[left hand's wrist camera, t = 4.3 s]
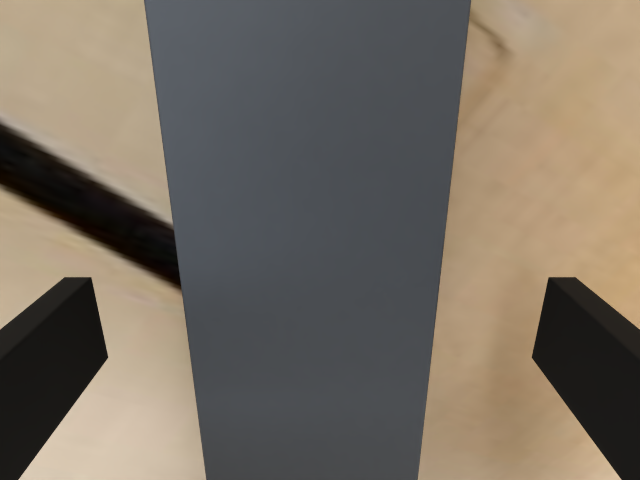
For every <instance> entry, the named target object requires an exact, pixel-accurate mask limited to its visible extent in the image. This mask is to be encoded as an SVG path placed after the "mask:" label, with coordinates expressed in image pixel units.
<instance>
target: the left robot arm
mask: <svg viewBox="0 0 640 480" xmlns="http://www.w3.org/2000/svg"><path fill="white" fill-rule="evenodd" d="M107 358H108V354H107V350H106V345H105V340H104V335H103V331H102V326H101V321H100V316H99V312H98V307H97V302H96V297H95V293H94V288H93V283H92V278H91V277H64V278H63V279H62V280H61V281H60V282H58V283H57V284H56V285H55V286H53V287H52V288H51V289H50V290H48V291H47V292H46V293H45V294H44V295H42V296H41V297H40V298H39V299H37V300H36V301H35V302H34V303H33V304H31V305H30V306H29V307H28V308H26V309H25V310H24V311H23V312H21V313H20V314H19V315H18V316H17V317H15V318H14V319H13V320H12V321H10V322H9V323H8V324H7V325H5V326H4V327H3V328H2V329H1V330H0V480H18V479H19V478H20V477H21V475H22V474H23V473H24V471H25V470H26V469H27V467H28V466H29V464H30V463H31V462H32V460H33V459H34V458H35V456H36V455H37V454H38V452H39V451H40V450H41V448H42V447H43V445H44V444H45V443H46V441H47V440H48V439H49V437H50V436H51V435H52V433H53V432H54V431H55V429H56V428H57V426H58V425H59V424H60V422H61V421H62V420H63V418H64V417H65V416H66V414H67V413H68V411H69V410H70V409H71V407H72V406H73V405H74V403H75V402H76V401H77V399H78V398H79V397H80V395H81V394H82V392H83V391H84V390H85V388H86V387H87V386H88V384H89V383H90V382H91V380H92V379H93V378H94V376H95V375H96V373H97V372H98V371H99V369H100V368H101V367H102V365H103V364H104V363H105V361H106V360H107ZM532 358H533V360H534V361H535V363H536V364H537V365H538V367H539V368H540V369H541V371H542V372H543V373H544V375H545V376H546V378H547V379H548V380H549V382H550V383H551V384H552V386H553V387H554V388H555V390H556V391H557V392H558V394H559V395H560V397H561V398H562V399H563V401H564V402H565V403H566V405H567V406H568V407H569V409H570V410H571V411H572V413H573V414H574V416H575V417H576V418H577V420H578V421H579V422H580V424H581V425H582V426H583V428H584V429H585V431H586V432H587V433H588V435H589V436H590V437H591V439H592V440H593V441H594V443H595V444H596V445H597V447H598V448H599V450H600V451H601V452H602V454H603V455H604V456H605V458H606V459H607V460H608V462H609V463H610V464H611V466H612V467H613V469H614V470H615V471H616V473H617V474H618V475H619V477H620V478H621V479H622V480H640V330H639V329H638V328H637V327H636V326H635V325H633V324H632V323H631V322H630V321H628V320H627V319H626V318H625V317H623V316H622V315H621V314H620V313H619V312H617V311H616V310H615V309H614V308H612V307H611V306H610V305H609V304H607V303H606V302H605V301H604V300H603V299H601V298H600V297H599V296H598V295H596V294H595V293H594V292H593V291H592V290H590V289H589V288H588V287H587V286H585V285H584V284H583V283H582V282H580V281H579V280H578V279H577V278H576V277H549V278H548V283H547V288H546V293H545V297H544V302H543V307H542V312H541V316H540V321H539V326H538V331H537V335H536V340H535V345H534V350H533V354H532Z"/></svg>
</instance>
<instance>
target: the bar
mask: <svg viewBox="0 0 640 480" xmlns="http://www.w3.org/2000/svg"><path fill="white" fill-rule="evenodd" d="M144 3H145V11H146V18H147V26H148V34H149V41H150V49H151V57H152V64H153V72H154V80H155V88H156V95H157V103H158V111H159V118H160V126H161V134H162V141H163V149H164V157H165V164H166V172H167V180H168V188H169V195H170V203H171V211H172V218H173V226H174V234H175V241H176V249H177V257H178V265H179V272H180V280H181V288H182V295H183V303H184V311H185V318H186V326H187V334H188V342H189V349H190V357H191V365H192V372H193V380H194V388H195V395H196V403H197V411H198V419H199V426H200V434H201V442H202V449H203V457H204V465H205V472H206V480H418V471H419V462H420V453H421V444H422V435H423V426H424V417H425V408H426V399H427V390H428V381H429V372H430V364H431V355H432V346H433V337H434V328H435V319H436V310H437V301H438V292H439V283H440V274H441V265H442V256H443V247H444V238H445V229H446V220H447V211H448V202H449V193H450V184H451V175H452V167H453V158H454V149H455V140H456V131H457V122H458V113H459V104H460V95H461V86H462V77H463V68H464V59H465V50H466V41H467V32H468V23H469V14H470V5H471V0H144Z"/></svg>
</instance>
